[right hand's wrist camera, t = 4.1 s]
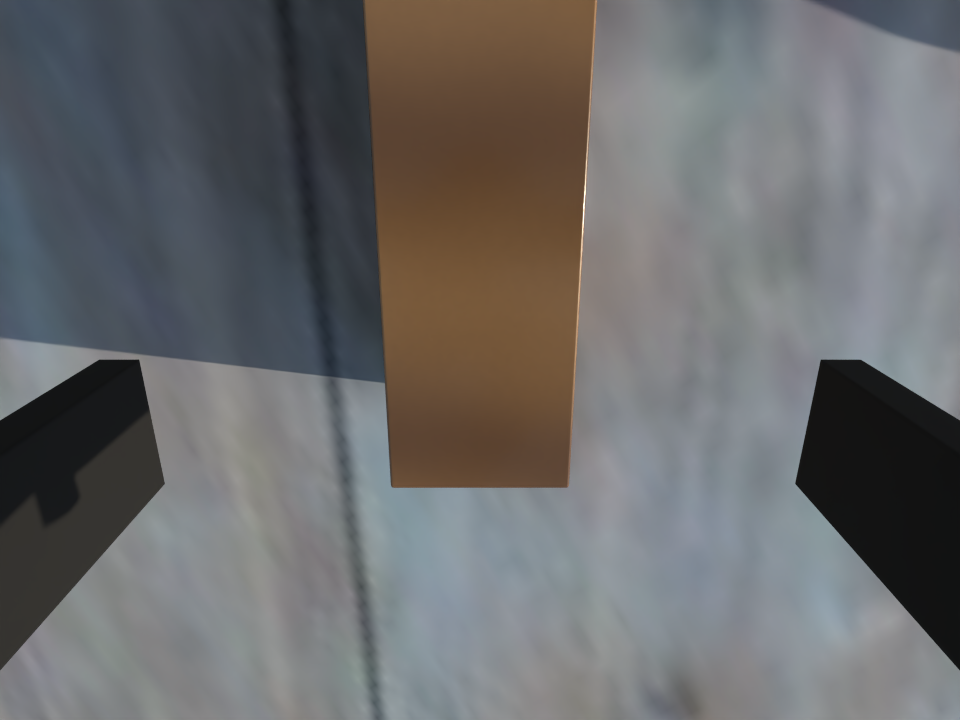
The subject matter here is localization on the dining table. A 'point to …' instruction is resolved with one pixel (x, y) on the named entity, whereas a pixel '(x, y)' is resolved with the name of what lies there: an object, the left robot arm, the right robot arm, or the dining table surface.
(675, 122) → the dining table surface
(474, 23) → the post
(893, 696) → the dining table surface
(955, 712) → the dining table surface
